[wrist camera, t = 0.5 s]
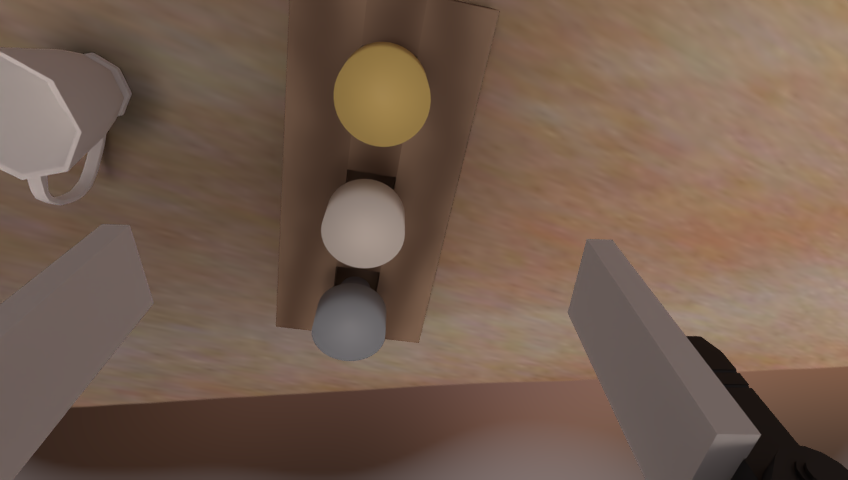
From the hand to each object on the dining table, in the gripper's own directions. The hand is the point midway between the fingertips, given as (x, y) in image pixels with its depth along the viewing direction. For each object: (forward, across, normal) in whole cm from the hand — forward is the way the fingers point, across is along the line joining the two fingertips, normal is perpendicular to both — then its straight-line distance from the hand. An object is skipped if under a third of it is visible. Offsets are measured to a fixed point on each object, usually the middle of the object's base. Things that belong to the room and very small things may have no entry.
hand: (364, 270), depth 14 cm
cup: (+21, -20, -1) cm, 29 cm away
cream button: (+18, -1, -6) cm, 19 cm away
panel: (+21, -2, -6) cm, 22 cm away
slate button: (+18, -3, -14) cm, 23 cm away
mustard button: (+18, 0, +2) cm, 18 cm away
